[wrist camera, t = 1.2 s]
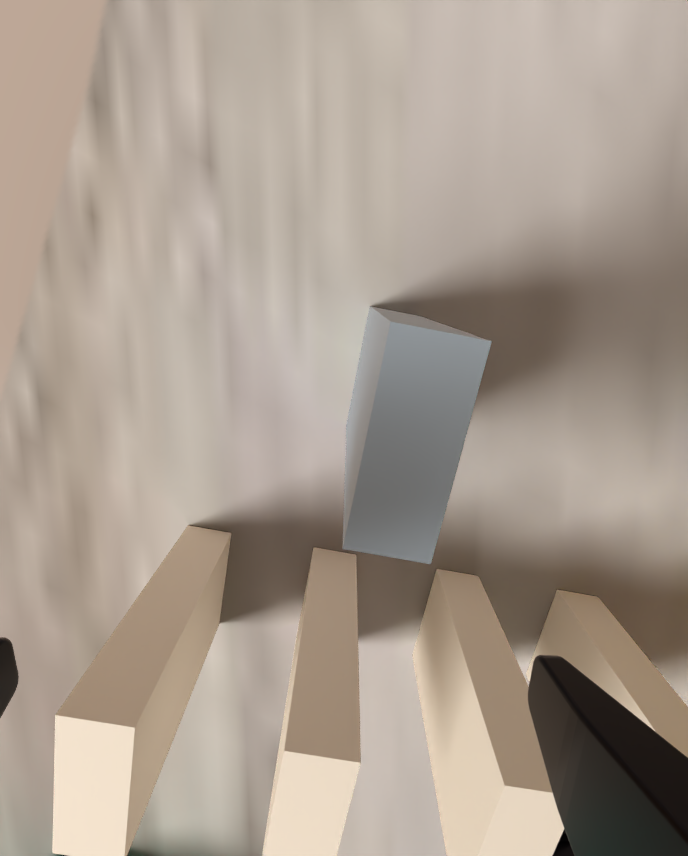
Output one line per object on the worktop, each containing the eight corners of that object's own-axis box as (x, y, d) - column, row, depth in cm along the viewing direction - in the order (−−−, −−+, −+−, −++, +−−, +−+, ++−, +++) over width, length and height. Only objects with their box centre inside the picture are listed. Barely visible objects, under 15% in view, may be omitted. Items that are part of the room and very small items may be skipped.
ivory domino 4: (597, 596, 22) (786, 828, 13) (564, 680, 24) (712, 949, 14) (556, 589, 22) (715, 817, 12) (526, 674, 23) (647, 939, 14)
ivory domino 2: (356, 554, 22) (360, 763, 12) (336, 643, 23) (326, 892, 14) (313, 547, 22) (283, 750, 12) (296, 636, 23) (257, 883, 13)
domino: (419, 315, 19) (491, 341, 9) (392, 434, 20) (431, 564, 10) (370, 306, 19) (390, 321, 9) (346, 425, 20) (342, 549, 10)
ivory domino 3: (478, 575, 22) (578, 796, 12) (451, 662, 23) (523, 921, 14) (436, 568, 22) (504, 785, 12) (412, 656, 23) (456, 912, 14)
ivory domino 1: (231, 532, 22) (135, 727, 12) (219, 623, 23) (123, 863, 13) (188, 525, 21) (55, 714, 12) (178, 616, 23) (52, 853, 13)
